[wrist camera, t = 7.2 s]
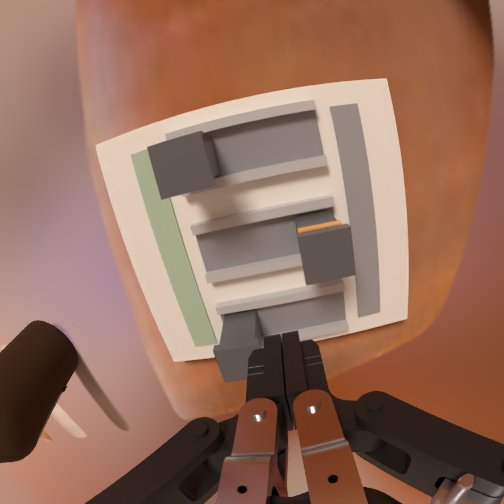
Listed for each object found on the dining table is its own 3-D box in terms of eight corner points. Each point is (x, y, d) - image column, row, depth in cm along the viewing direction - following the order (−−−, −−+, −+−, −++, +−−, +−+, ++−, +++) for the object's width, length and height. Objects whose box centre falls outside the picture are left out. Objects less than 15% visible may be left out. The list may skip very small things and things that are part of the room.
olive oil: (14, 323, 34) (-79, 434, 11) (52, 308, 33) (-61, 447, 10) (53, 377, 38) (-17, 495, 15) (95, 370, 36) (21, 517, 13)
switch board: (378, 81, 23) (420, 66, 15) (400, 309, 31) (430, 354, 24) (105, 143, 26) (55, 151, 18) (177, 350, 34) (160, 402, 26)
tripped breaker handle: (331, 206, 25) (350, 226, 20) (337, 246, 26) (355, 275, 21) (289, 214, 25) (297, 237, 20) (297, 254, 27) (306, 285, 21)
